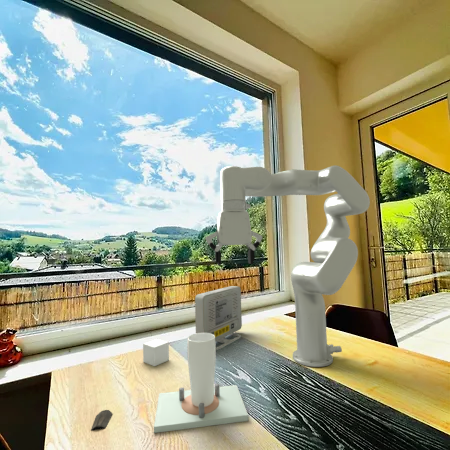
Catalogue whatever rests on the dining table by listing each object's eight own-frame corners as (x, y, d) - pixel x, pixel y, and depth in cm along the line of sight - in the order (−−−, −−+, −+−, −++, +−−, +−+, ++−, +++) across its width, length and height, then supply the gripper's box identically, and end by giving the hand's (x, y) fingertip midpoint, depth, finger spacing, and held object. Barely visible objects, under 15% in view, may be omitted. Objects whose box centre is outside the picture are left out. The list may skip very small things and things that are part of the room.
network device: (230, 330, 122) (229, 285, 124) (247, 333, 117) (245, 286, 119) (191, 349, 102) (190, 294, 103) (209, 354, 96) (208, 296, 98)
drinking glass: (188, 395, 68) (187, 333, 69) (216, 393, 68) (214, 331, 70) (187, 411, 61) (186, 342, 62) (217, 409, 62) (216, 341, 63)
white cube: (143, 362, 92) (143, 343, 92) (157, 356, 96) (157, 338, 97) (154, 366, 88) (154, 347, 88) (169, 360, 93) (168, 341, 93)
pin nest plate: (236, 389, 73) (236, 375, 73) (248, 420, 60) (247, 403, 60) (159, 398, 69) (159, 383, 70) (153, 432, 57) (153, 414, 57)
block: (90, 437, 58) (89, 429, 58) (97, 418, 64) (96, 410, 64) (108, 432, 59) (107, 424, 59) (113, 413, 64) (112, 406, 64)
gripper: (257, 209, 89) (259, 262, 87) (204, 209, 86) (205, 264, 85) (264, 206, 81) (266, 264, 80) (206, 206, 79) (207, 266, 77)
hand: (235, 264), depth 82 cm, fingers open, 9 cm apart
